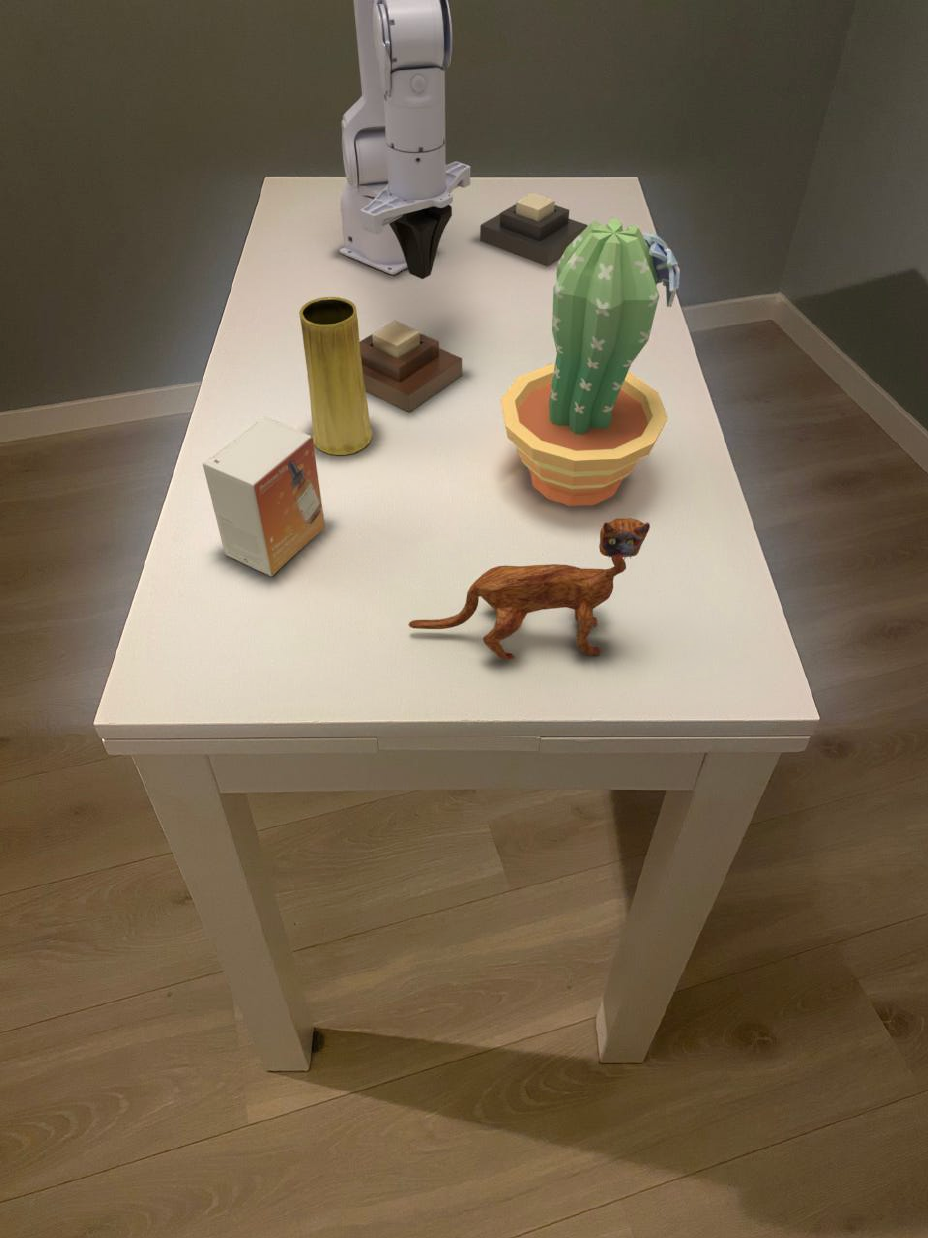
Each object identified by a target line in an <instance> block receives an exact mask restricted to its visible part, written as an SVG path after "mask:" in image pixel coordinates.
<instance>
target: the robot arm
mask: <svg viewBox="0 0 928 1238" xmlns="http://www.w3.org/2000/svg"><path fill="white" fill-rule="evenodd" d="M352 1H353V10H354V21H355V23H354V24H355V32H356V43H357V45H356V46H357V55H358V65H359V77H360V88H361V96H360V97H359V99H358V100H357V101H355V102H354V103H353V105H352V106H351V107H350V108H349V109H347V110H346V111H345V113H344V114H343V116H342V120H341V134H342V135H341V149H342V160H343V167H344V172H345V178H346V179H345V180H346V183H345V184H344V187H343V189H342V192H341V197H340V213H341V223H342V224H341V225H342V235H343V244H344V247H342V248H340V249H339V251H340V254H342V255H344V256H346V257H349V258H351V259H353V260H356V261H357V262H358V261H359V262H361V263H363V264H365V265H368V266H370V267H373V268H375V269H377V270H379V271H382V272H384V273H387V274H389V275H393V276H394V275H396V274H398V273H400V272H401V271H404V270H405V269H407V271H408V274H409V275H412V276H413V277H417V278H418V279H421V280H425V279H426V278H428V277H429V276H431V275H432V272H433V268H434V263H435V258H436V255H437V252H438V249H439V244H440V241H441V238H442V236H443V234H444V231H445V229H446V227H447V225H448V223H449V221H450V220H451V218H452V217H453V206H452V205H451V204H452V203H453V202H454V195H453V194H452V192H453V191H454V190H455V189H458V188H459V187H460V188H463V189H464V188H467V187H469V186H470V185H471V166H470V165H468V164H465V163H462V162H460V161H453V162H451V163H448V164H446V162H447V161H446V159H447V158H446V151H447V150H446V70H445V68H444V67H443V64H444V66H445V67H446V68H449V67H450V66H451V62H452V53H453V23H452V16H451V10H450V5H449V0H352Z"/></svg>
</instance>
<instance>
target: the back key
mask: <svg viewBox="0 0 928 1238" xmlns="http://www.w3.org/2000/svg"><path fill="white" fill-rule="evenodd" d="M515 204H516V214H519V215H521V216H524V217H527V218H530V219H533V220H535V221H538V222H539V221H541V220H542V219H544V218H546V217H547V216H549V215H550V214H552V213H554V205H556V200H555V199H552V198H549V197H547V196H545V195H541V194H538V193H536V192H531V193H529V194H528V195H526V196H524V197H522V198H521V199H519V200H517V201H516V202H515Z"/></svg>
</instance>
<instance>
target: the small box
mask: <svg viewBox="0 0 928 1238" xmlns="http://www.w3.org/2000/svg"><path fill="white" fill-rule="evenodd" d="M202 468H203V473H204V477H205V479H206V484H207V488H208V492H209V496H210V500H211V504H212V508H213V511H214V516H215V520H216V524H217V528H218V531H219V537H220V540H221V545H222V547H223V552H224V554H225V556H227V557H230V558H232V559H234V560H236V561H238V562H240V563H241V564H243V565H246V566H249V567H250V568H253V569H254V570H257V571H259V572H260V573H263V574H265V575H267V576H269V577H273V576H274V575H275V574H276V573H277V572H279V570H281V568H282V567H283V566H284V565H285V564H286V563H287V562H289V561H290V560H291V559H292V558H293V557H294V556H295V555H296V554H297V553H298V552H299V551H301V550H302V549H303V548H305V546H307V544H308V543H310V542H311V540H313V539H314V538H315V537H316V536H317V535H319V534H320V533H321V532H322V531H323V530H324V529H325V528H326V527H325V518H324V510H323V504H322V503H323V502H322V497H321V496H322V495H321V489H320V482H319V473H318V466H317V459H316V452H315V444H314V442H313V438H312V435H309V434H307V433H306V432H303V431H300V430H299V429H295V428H293V427H291V426H288V425H286V424H283V423H282V422H281V423H280V422H279V421H277V420H273V419H272V418H268V417H266V416H262V417H260V418H259V420H257V421H256V423H254V424H253V425H252V426H250V427H249V428H248V429H246V430H245V431H244V432H243V433H242V434H240V435H239V436H238V437H236V438H235V439H233V441H231V442H230V443H229V444H228V445H226V446H225V447H223V448H222V449H221V450H219V451H218V452H217V453H215V454H214V455H213V456H212V457H210V458H208V459H207V460H205V461H204V462H203V463H202Z"/></svg>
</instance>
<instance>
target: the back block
mask: <svg viewBox="0 0 928 1238" xmlns="http://www.w3.org/2000/svg"><path fill="white" fill-rule="evenodd" d="M588 225H589V224H586V223H583V222H580V221H578V220H574V219H572V218H570V209H568V208H565V207H562V206H560V205H556V204H555V205H554V213H552V214H550V215H549V216H547V217H546V218H544V219H542V220H541V221H539V222H538V221H535V220H533V219H530V218H527V217H524V216H521V215H519V214H516V203H515V204H513V205H511V206H510V207H508V208H506V209H504V210H503V211H501V212H500V213H499V214H497V215H495V216H493V217H492V218H490V219H488V220H486V221H485V222H483V223H481V224H480V226H479V227H480V228H479V241H480V242H482V243H484V244H486V245H487V244H488V245H490V246H492V247H495V248H498V249H501V250H502V251H506V252H509V253H511V254H514V255H517V256H518V257H522V258H524V259H527V260H530V261H531V262H535V263H537V264H540V265H543V266H545V267H549V266H550V265H552V264H554V263H555V262H556V261H559V260H560V259H561V257H562V255H563V253H564V251H565V250H566V248H567V247H568V246H569V245H570V244H571V243H572V242H573V241H574V240H575V239H576V238H577V237H578V236H579V235H580V234H581V233H582V232H583V231H584V230H585V229H586V227H587V226H588Z"/></svg>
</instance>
